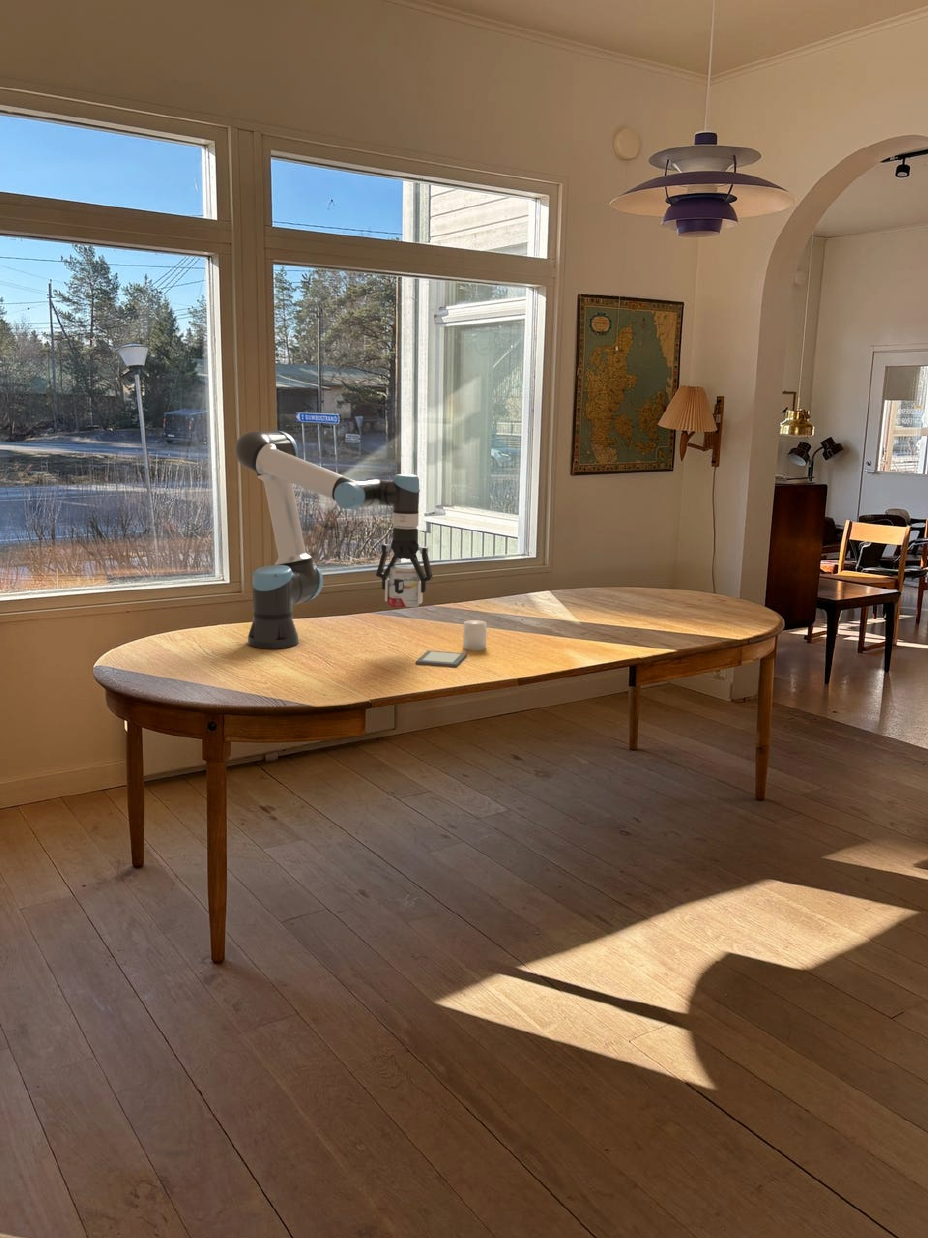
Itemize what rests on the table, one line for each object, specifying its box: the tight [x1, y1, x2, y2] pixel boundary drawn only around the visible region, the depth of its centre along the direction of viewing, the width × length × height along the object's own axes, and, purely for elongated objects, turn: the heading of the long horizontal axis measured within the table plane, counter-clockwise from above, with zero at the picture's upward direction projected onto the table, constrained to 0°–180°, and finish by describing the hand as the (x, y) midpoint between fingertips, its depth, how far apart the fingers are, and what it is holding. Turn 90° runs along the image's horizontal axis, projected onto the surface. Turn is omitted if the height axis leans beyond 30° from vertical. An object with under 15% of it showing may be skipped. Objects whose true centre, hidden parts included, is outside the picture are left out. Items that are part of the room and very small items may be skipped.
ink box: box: [387, 565, 421, 608], centre depth 301 cm, size 9×5×12 cm, turn 105°
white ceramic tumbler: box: [462, 619, 488, 652], centre depth 309 cm, size 7×7×8 cm
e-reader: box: [415, 649, 468, 668], centre depth 293 cm, size 12×14×1 cm
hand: (403, 601), depth 302 cm, fingers closed on ink box, 9 cm apart
